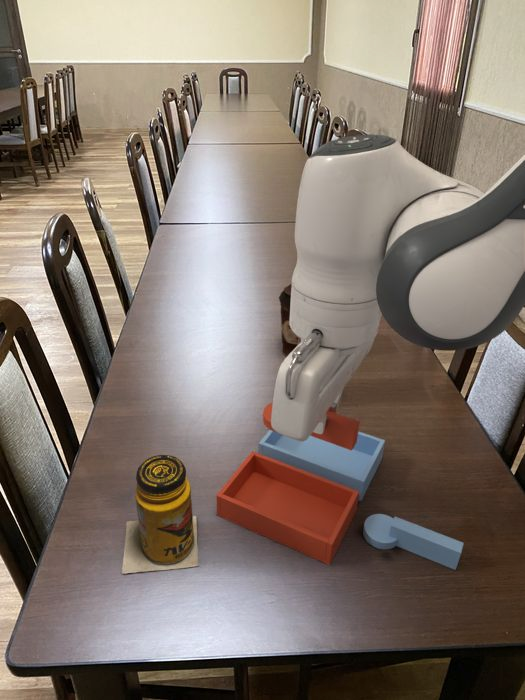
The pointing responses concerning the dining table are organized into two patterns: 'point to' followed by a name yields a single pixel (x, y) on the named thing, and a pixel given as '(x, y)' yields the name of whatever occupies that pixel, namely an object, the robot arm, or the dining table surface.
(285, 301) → the coffee cup
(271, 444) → the blue bin
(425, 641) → the dining table surface
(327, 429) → the red spoon
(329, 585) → the dining table surface
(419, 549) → the blue spoon
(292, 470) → the red bin
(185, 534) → the condiment
